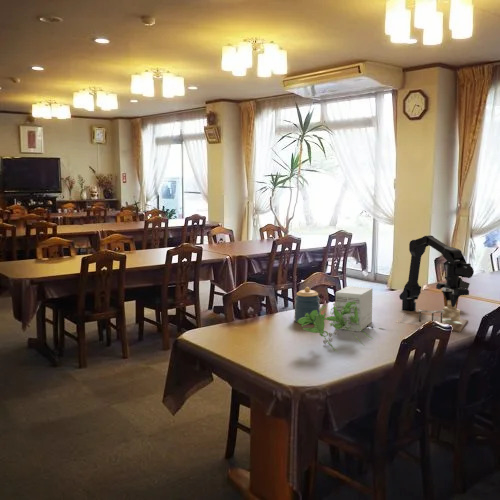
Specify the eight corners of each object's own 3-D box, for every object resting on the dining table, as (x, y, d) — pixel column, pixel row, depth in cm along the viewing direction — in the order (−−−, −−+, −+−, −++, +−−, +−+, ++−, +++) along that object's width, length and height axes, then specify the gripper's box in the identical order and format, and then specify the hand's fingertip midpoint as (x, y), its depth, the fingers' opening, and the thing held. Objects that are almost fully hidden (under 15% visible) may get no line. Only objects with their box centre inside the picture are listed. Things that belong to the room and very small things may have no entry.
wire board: (395, 324, 266) (396, 310, 266) (407, 314, 285) (407, 302, 284) (460, 332, 251) (460, 317, 250) (467, 321, 270) (468, 308, 269)
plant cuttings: (368, 355, 240) (337, 318, 252) (388, 330, 231) (355, 293, 243) (315, 374, 217) (284, 332, 229) (335, 346, 208) (302, 305, 220)
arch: (452, 321, 262) (453, 302, 261) (442, 317, 270) (443, 298, 269) (459, 320, 263) (460, 301, 262) (449, 317, 271) (450, 298, 270)
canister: (290, 322, 272) (290, 288, 270) (300, 316, 283) (300, 283, 281) (314, 325, 266) (314, 290, 264) (323, 319, 277) (323, 285, 275)
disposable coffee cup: (462, 310, 294) (463, 288, 293) (444, 310, 294) (445, 288, 293) (456, 306, 303) (456, 285, 302) (439, 306, 304) (439, 285, 302)
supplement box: (347, 320, 275) (347, 285, 273) (372, 323, 268) (373, 288, 266) (334, 328, 260) (334, 291, 258) (360, 332, 253) (361, 294, 251)
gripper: (479, 277, 257) (478, 309, 259) (455, 271, 275) (454, 301, 277) (459, 278, 254) (457, 310, 256) (436, 272, 272) (435, 302, 274)
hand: (451, 306), depth 266 cm, fingers closed on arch, 2 cm apart
